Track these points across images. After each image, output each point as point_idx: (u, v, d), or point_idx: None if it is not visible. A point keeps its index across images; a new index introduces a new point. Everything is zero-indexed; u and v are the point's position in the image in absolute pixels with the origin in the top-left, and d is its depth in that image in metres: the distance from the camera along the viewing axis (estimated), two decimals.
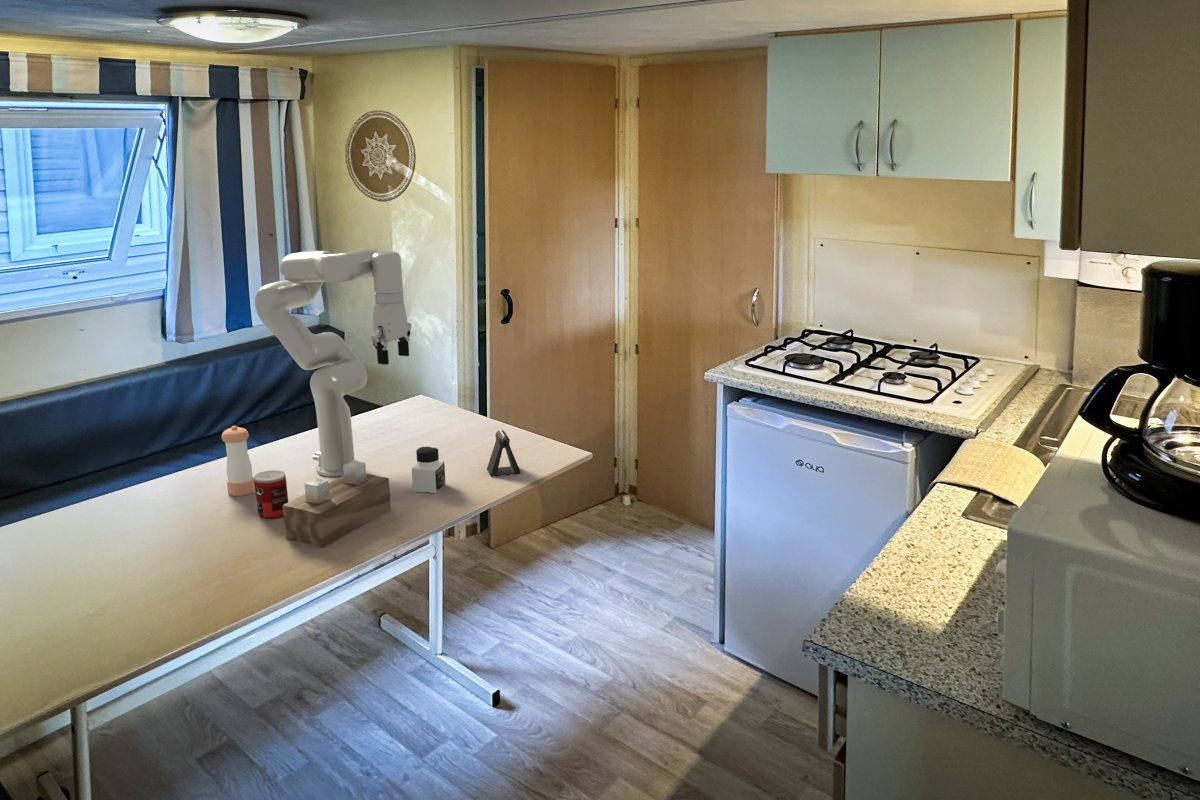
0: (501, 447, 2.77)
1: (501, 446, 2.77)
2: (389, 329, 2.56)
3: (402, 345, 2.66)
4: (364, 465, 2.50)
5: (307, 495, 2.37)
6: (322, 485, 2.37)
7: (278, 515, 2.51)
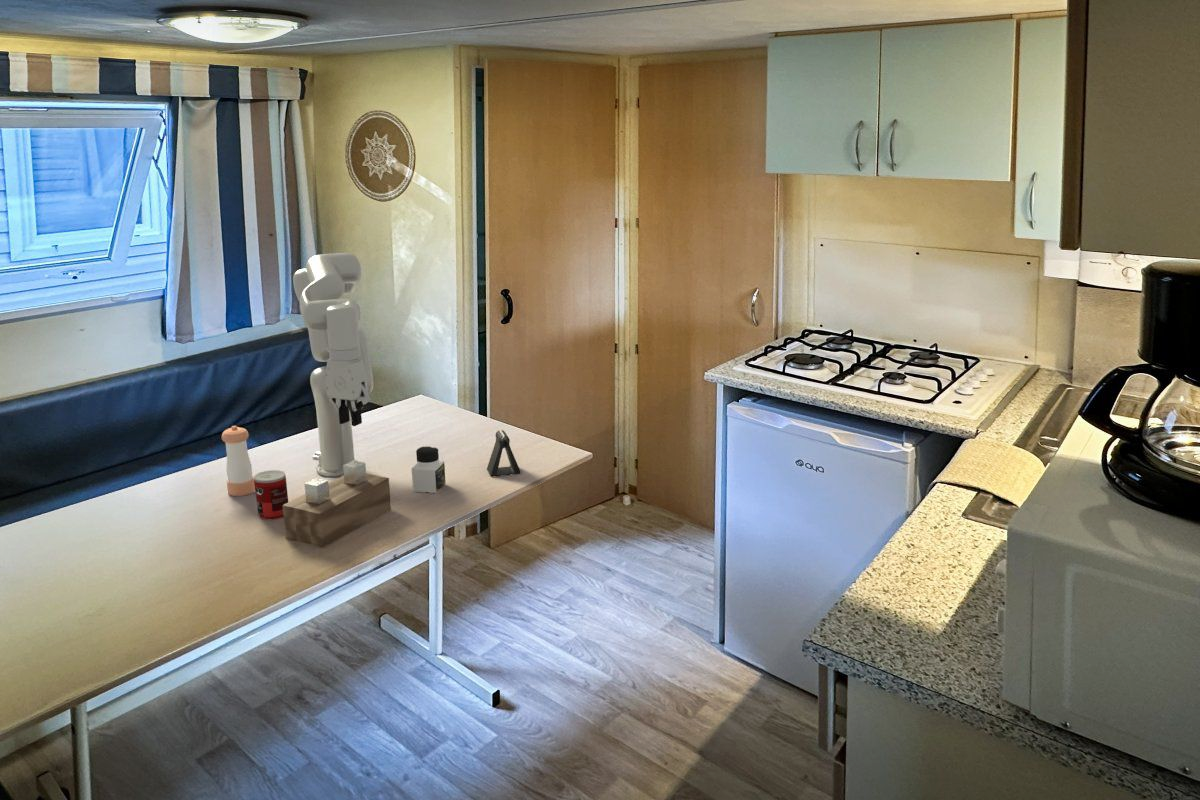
0: (501, 447, 2.77)
1: (501, 446, 2.77)
2: None
3: (345, 411, 2.46)
4: (364, 465, 2.50)
5: (307, 495, 2.37)
6: (322, 485, 2.37)
7: (278, 515, 2.51)
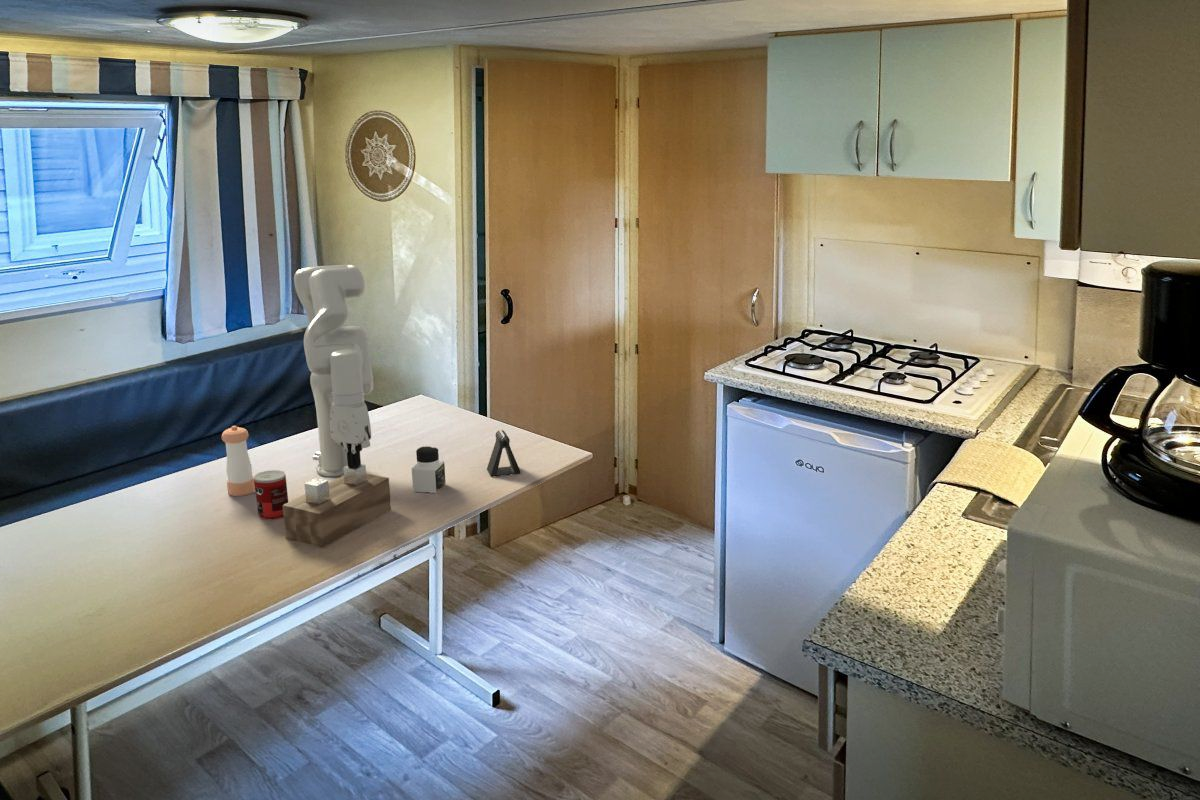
0: (501, 447, 2.77)
1: (501, 446, 2.77)
2: None
3: None
4: (364, 467, 2.50)
5: (307, 495, 2.37)
6: (322, 485, 2.37)
7: (278, 515, 2.51)
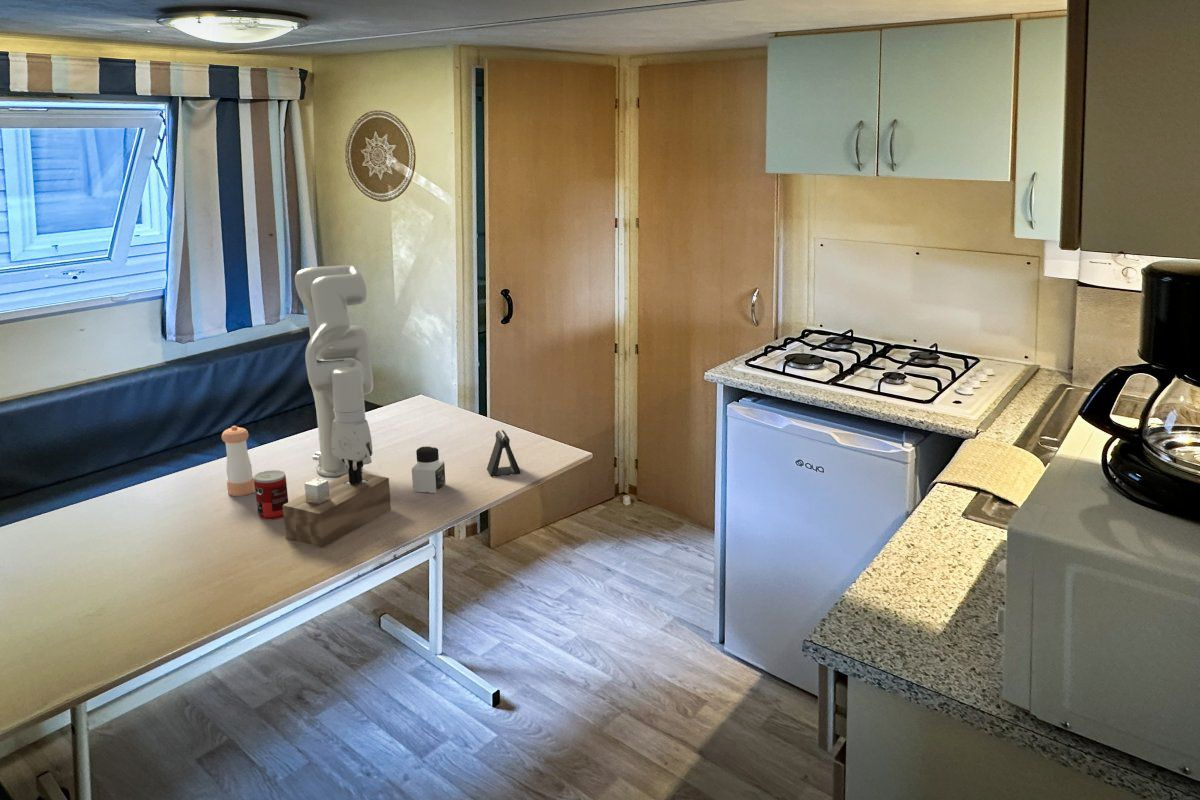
0: (501, 447, 2.77)
1: (501, 446, 2.77)
2: None
3: None
4: None
5: (307, 495, 2.37)
6: (322, 485, 2.37)
7: (278, 515, 2.51)
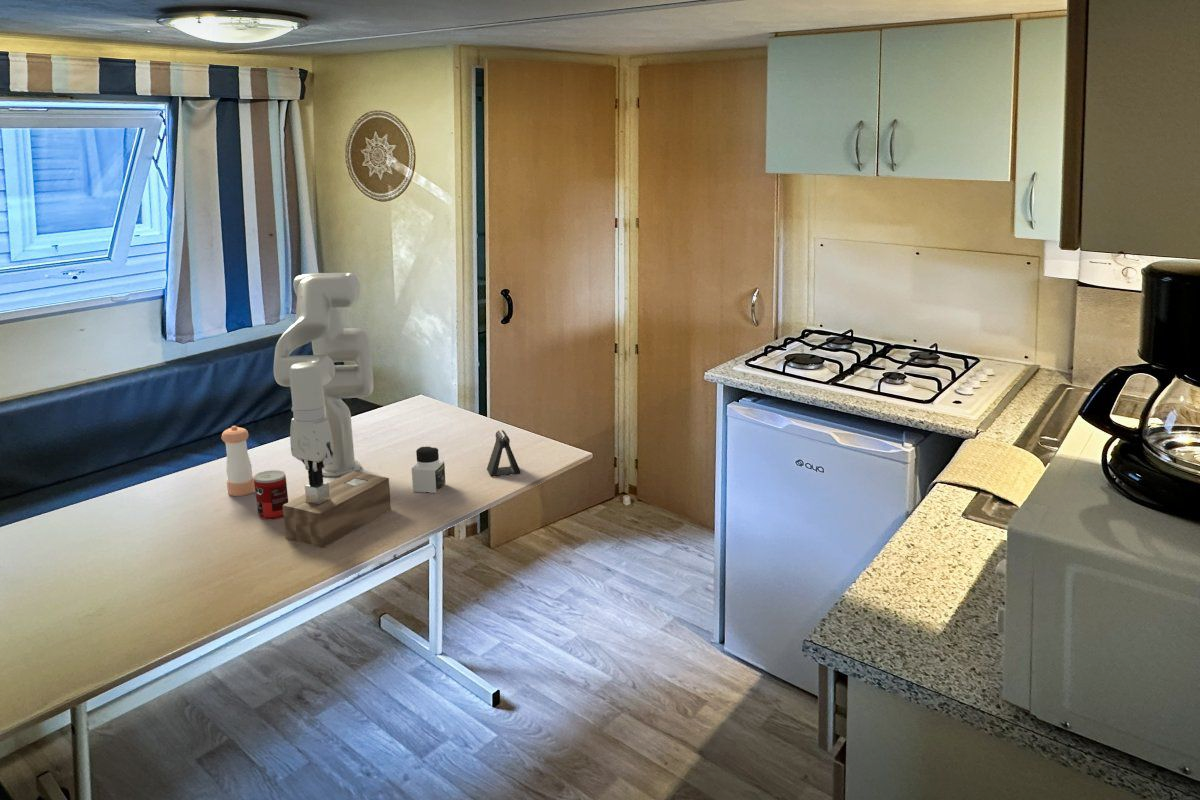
0: (501, 447, 2.77)
1: (501, 446, 2.77)
2: None
3: None
4: None
5: (307, 497, 2.38)
6: (322, 487, 2.37)
7: (278, 515, 2.51)
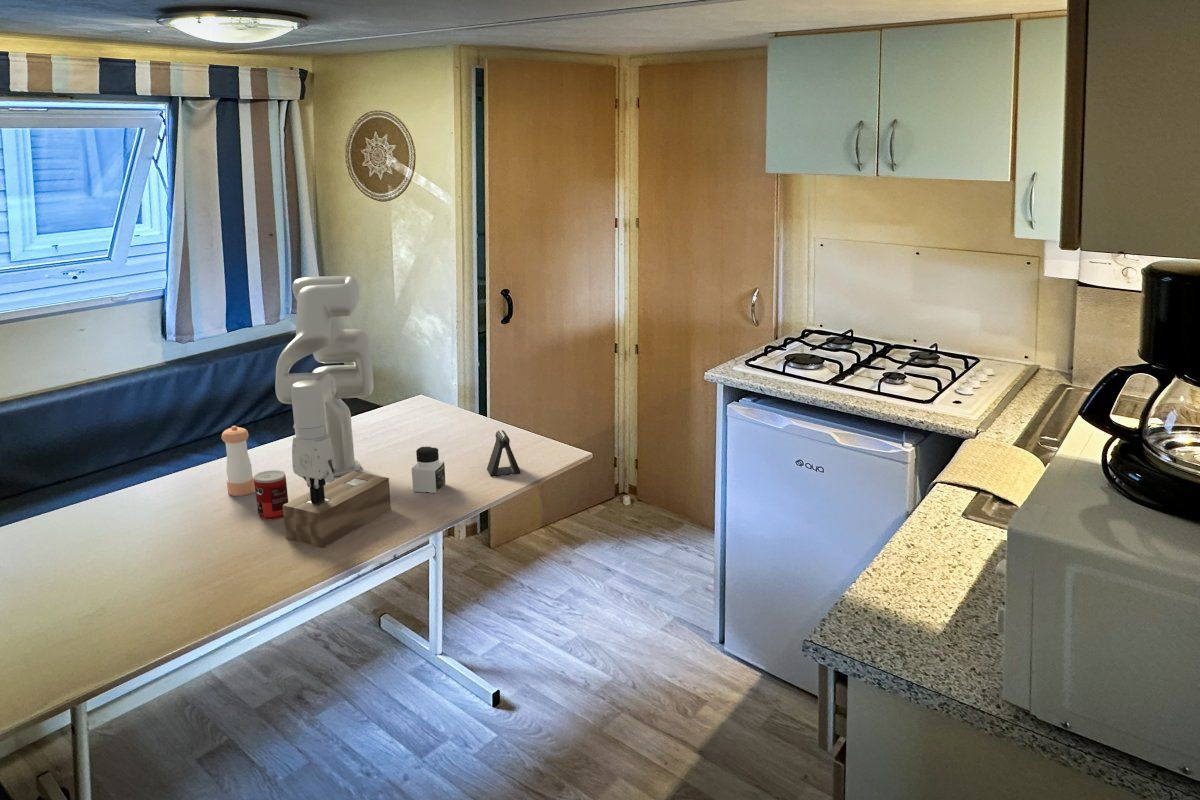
0: (501, 447, 2.77)
1: (501, 446, 2.77)
2: None
3: None
4: None
5: None
6: None
7: (278, 515, 2.51)
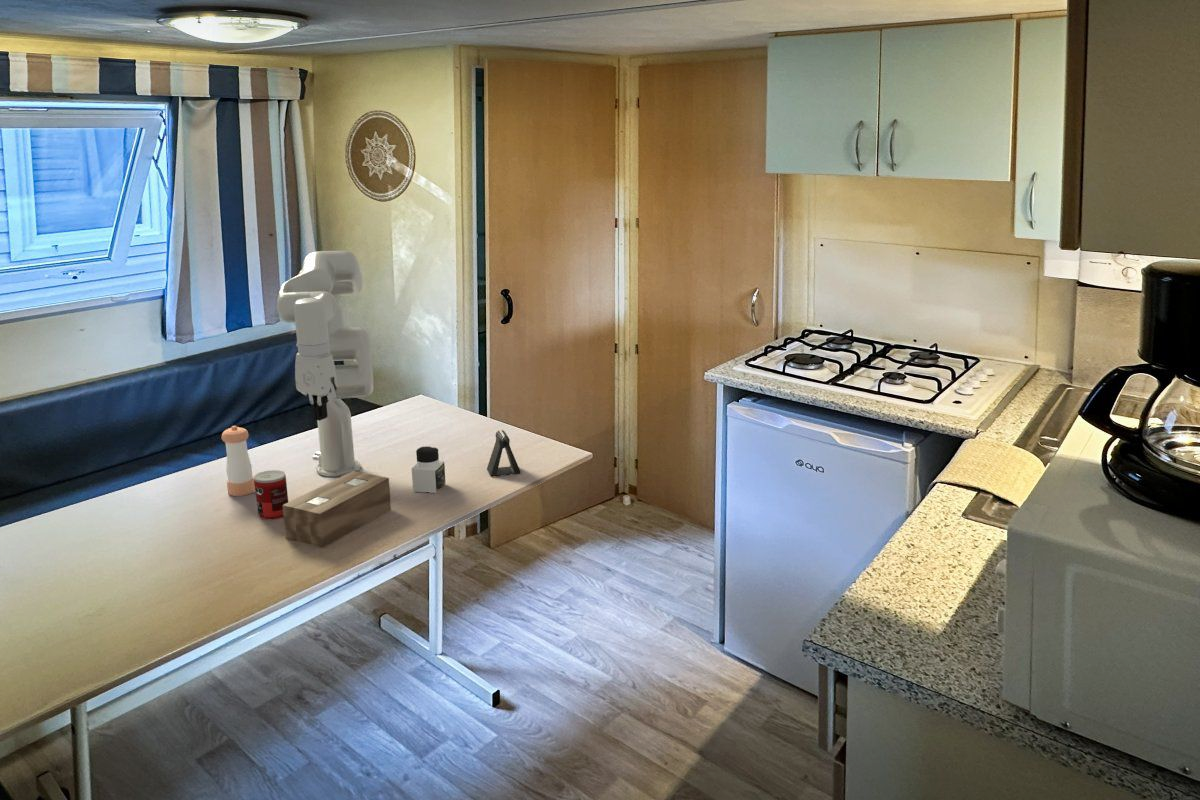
0: (501, 447, 2.77)
1: (501, 446, 2.77)
2: None
3: None
4: None
5: None
6: None
7: (278, 515, 2.51)
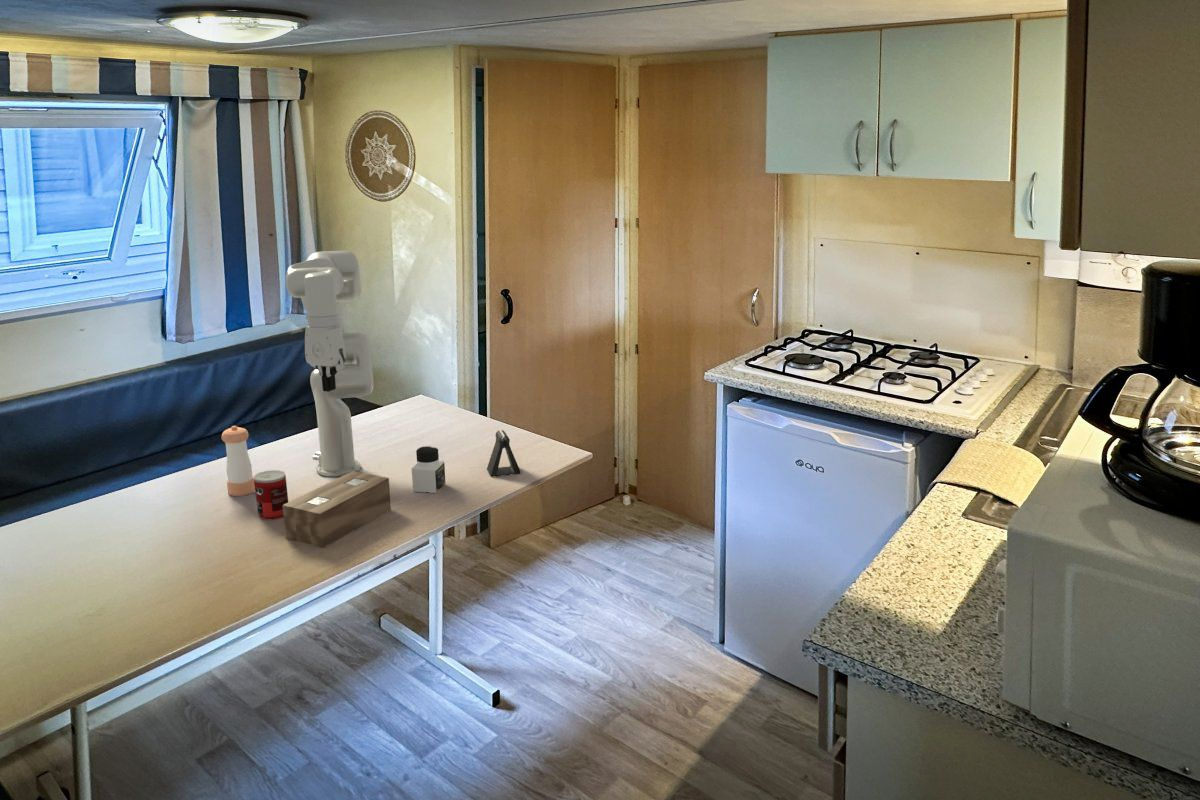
0: (501, 447, 2.77)
1: (501, 446, 2.77)
2: None
3: None
4: None
5: None
6: None
7: (278, 515, 2.51)
